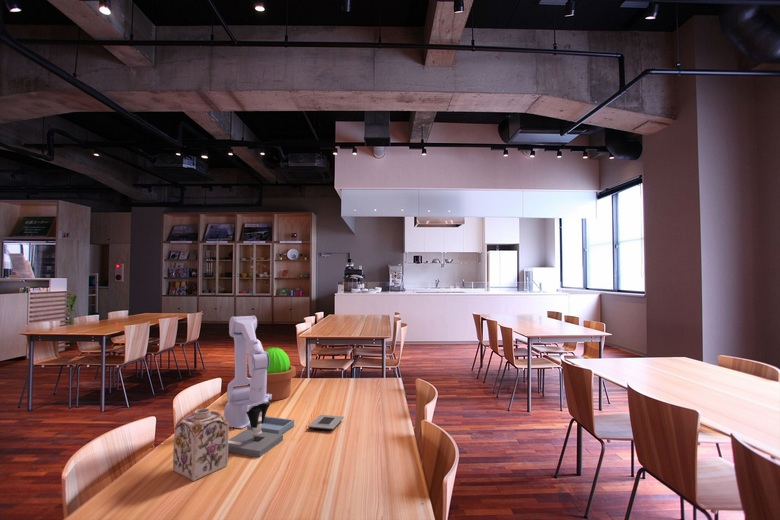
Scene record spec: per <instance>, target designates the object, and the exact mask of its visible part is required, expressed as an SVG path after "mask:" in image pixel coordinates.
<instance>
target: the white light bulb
mask: <svg viewBox="0 0 780 520" xmlns="http://www.w3.org/2000/svg"><path fill="white" fill-rule="evenodd" d="M261 424H262V411H260V414H259V418H258V425H257V428H253V431H252V436H260V435H261V434H262V430H261Z"/></svg>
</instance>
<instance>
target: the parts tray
mask: <svg viewBox="0 0 780 520" xmlns="http://www.w3.org/2000/svg"><path fill="white" fill-rule="evenodd" d="M246 427H247V428H246V430H253V428H252V427H251V425H250V424H249V425H247V426H246ZM294 427H295V419H290V418H288V419H287V418H280V417H273V416H268V415H267V416H266V415H265V418H264V422H263V424H261V430H262V432H267V433H274V434H281V435H284V434H285V433H287V432H288V431H289V430H292V429H293V428H294Z"/></svg>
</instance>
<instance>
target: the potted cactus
mask: <svg viewBox="0 0 780 520" xmlns="http://www.w3.org/2000/svg"><path fill="white" fill-rule="evenodd" d="M265 351H266V353H268V354H269V358H270V365H269V368H268V369H267V368H266V369H267V385H266V394H272V399H271V400H269V402H273V401H280V400H284V399H287V398H288V397H290V395H291V391H292V390H291V389H292V379H293V378H295V376H296V374H297V373H296V371H297V368H296V366H294V365H292V364H291V361H290V357H289V355H288V353H286V352H285V350H284V349H281V348H279V347H278V346H274V347H272V346H269V347H268V348H266V350H265Z"/></svg>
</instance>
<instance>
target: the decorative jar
mask: <svg viewBox="0 0 780 520" xmlns="http://www.w3.org/2000/svg"><path fill="white" fill-rule="evenodd" d="M229 428H230V427H229V423H228V422H227V420H226V419H225V417H224V413H221V412H219V411H214V410H213V411H212V410H211V409H210V408H200V409H199V408H198V409H196V410H195V411H193V413H192V414H188V415H186V416H185V417H183V418H182V419H181V420H180V421H179V422H178V423H177V424H176V425H175V426H174V434H173V435H174V436H173V437H174V438H173V450H172V451H173V453H172V454H173V455H172V456H173V457H172V471H174V472H175V473H177V474H179V475H181V476H182V477H185V478H186V479H189V480H190V481H193V482H194V481H198V480H199V479H202V478H204V477H207V476H209V475H210V474H213V473H215V472H217V471H220V470H221V468H222V469H223V467H224V468H226V467H227V466H228V462H229V461H228V460H229V459H228V458H229V452H228V440H229V432H230V430H229Z"/></svg>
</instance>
